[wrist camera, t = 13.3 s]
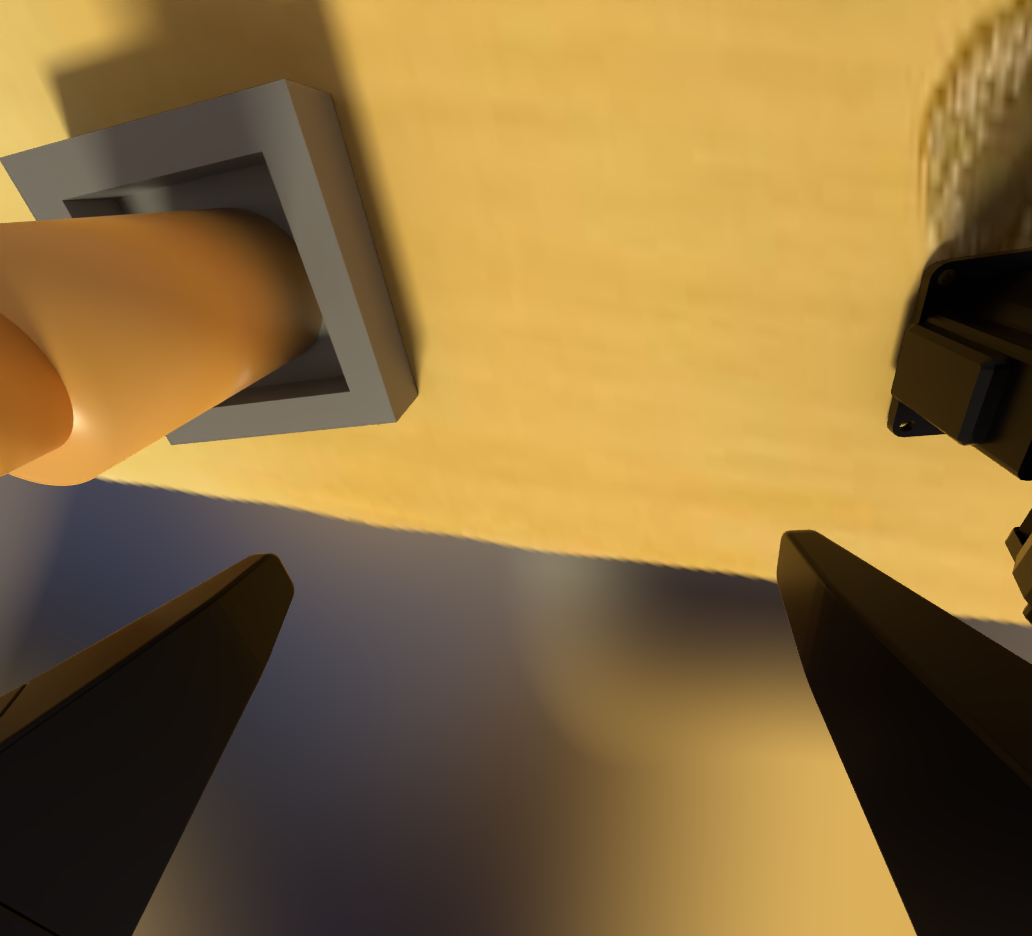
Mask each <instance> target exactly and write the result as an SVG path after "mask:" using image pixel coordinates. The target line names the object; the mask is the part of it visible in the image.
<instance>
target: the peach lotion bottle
mask: <svg viewBox="0 0 1032 936" xmlns="http://www.w3.org/2000/svg"><path fill="white" fill-rule="evenodd" d="M322 319H323V316H322V314H321V311H320V308H319V305H318V303H317V300H316V297H315V294H314V292H313V289H312V286H311V283H310V281H309V278H308V275H307V273H306V270H305V267H304V264H303V262H302V259H301V256H300V253H299V251H298V248H297V245H296V242H295V241H294V240H293V239H292V238H291V237H290V236H289V235H288V234H287V233H286V232H285V231H284V230H282V229H281V228H280V227H279V226H278V225H276V224H275V223H273V222H272V221H270V220H269V219H267V218H265V217H263V216H261V215H259V214H257V213H254V212H251V211H249V210H245V209H240V208H230V207H224V208H210V209H196V210H182V211H168V212H154V213H140V214H126V215H112V216H98V217H84V218H70V219H56V220H42V221H28V222H14V223H0V477H1V476H3V475H5V474H7V473H8V474H10V475H13V476H15V477H18V478H22V479H25V480H28V481H32V482H36V483H41V484H47V485H56V486H61V485H62V486H64V485H75V484H81V483H84V482H86V481H89V480H91V479H93V478H95V477H96V476H98V475H100V474H101V473H103V472H105V471H106V470H108V469H110V468H112V467H113V466H115V465H117V464H118V463H120V462H122V461H123V460H125V459H127V458H128V457H130V456H132V455H133V454H135V453H137V452H138V451H140V450H142V449H144V448H145V447H147V446H149V445H150V444H152V443H154V442H155V441H157V440H159V439H160V438H162V437H164V436H165V435H167V434H169V433H170V432H172V431H174V430H176V429H177V428H179V427H181V426H182V425H184V424H186V423H187V422H189V421H191V420H192V419H194V418H196V417H197V416H199V415H201V414H202V413H204V412H206V411H207V410H209V409H211V408H213V407H214V406H216V405H218V404H219V403H221V402H223V401H224V400H226V399H228V398H229V397H231V396H233V395H234V394H236V393H238V392H239V391H241V390H243V389H245V388H246V387H248V386H250V385H251V384H253V383H255V382H256V381H258V380H260V379H261V378H263V377H265V376H266V375H268V374H270V373H271V372H273V371H275V370H277V369H278V368H280V367H282V366H283V365H285V364H287V363H288V362H290V361H292V360H293V359H295V358H297V357H298V356H300V355H302V354H303V353H305V352H306V351H307V350H308V349H309V348H310V347H311V346H312V344H313V343H314V342H315V340H316V338H317V336H318V334H319V331H320V329H321V324H322Z"/></svg>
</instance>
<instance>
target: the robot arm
mask: <svg viewBox="0 0 1032 936" xmlns="http://www.w3.org/2000/svg"><path fill="white" fill-rule="evenodd" d="M946 270H948V276H947V278H946V279H945V280H944V281H943V282H941V283H938V278H939V276H940V274H942V273H943V272H944V271H946ZM891 394H892V395H893V396H894V397H893V401H892V405H891V409H890V413H889V418H888V422H887V427H888V429H889V430H890V431H891V432H892V433H894V434H895V435H897V436H899V437H912V436H925V435H939V434H947V435H948V436H949V437H951V438H952V439H954V440H955V441H956V442H958V443H959V444H961V445H964V446H965V445H972V446H973V447H975V448H976V449H977V450H979V451H980V452H982V453H983V454H985V455H986V456H988V457H989V458H990V459H992V460H993V461H995V462H996V463H998V464H999V465H1000V466H1002V467H1003V468H1005V469H1006V470H1008V471H1009V472H1010V473H1012V474H1013V475H1015V476H1016V477H1018V478H1019V479H1020V480H1025V481H1031V480H1032V247H1031V248H1024V249H1017V250H1010V251H1003V252H996V253H989V254H982V255H975V256H967V257H960V258H953V259H946V260H942V261H938V262H936V263H934V264H933V265H931V266H930V267H929V268H928V269H927V271H926V272H925V274H924V276H923V278H922V283H921V287H920V291H919V295H918V299H917V303H916V307H915V311H914V315H913V319H912V323H911V326H910V327H909V328H908V329H907V330H906V332H905V335H904V339H903V343H902V348H901V352H900V356H899V360H898V364H897V368H896V373H895V377H894V381H893V385H892V389H891ZM906 420H909V422H908V423H907V424H906V425H905V426H903V427H900V425H901V423H903V422H904V421H906ZM1005 544H1006V546H1007V548H1008V550H1009V552H1010V554H1011V556H1012V558H1013V560H1014V562H1015V565H1014V569H1013V573H1012V574H1013V576H1014V578H1015V580H1016V582H1017V584H1018V586H1019V589H1020V591H1021V593H1022V595H1023V597H1024V599H1025V600H1026V601H1027V602H1028V604H1027V606H1026V607H1025V608H1024V610H1023V614H1024V616H1025V618H1026V619H1027V620H1028V621H1029V623H1030V624H1031V625H1032V509H1031V510H1030V512H1029V513H1028V515H1027V517H1026V518H1025V520H1024V521H1023V523H1022V524H1021V526H1020V527H1015V528H1013V530H1012V531H1011V533H1010V535H1009V536H1008V538H1007V539H1006V541H1005ZM777 582H778V586H779V589H780V593H781V596H782V600H783V603H784V606H785V610H786V613H787V616H788V620H789V623H790V626H791V630H792V633H793V636H794V640H795V643H796V646H797V650H798V653H799V656H800V660H801V663H802V666H803V669H804V672H805V675H806V678H807V681H808V683H809V686H810V688H811V691H812V693H813V695H814V698H815V700H816V703H817V705H818V707H819V710H820V712H821V714H822V716H823V719H824V721H825V723H826V726H827V728H828V730H829V733H830V735H831V737H832V740H833V742H834V744H835V746H836V749H837V751H838V754H839V756H840V758H841V760H842V763H843V765H844V767H845V770H846V772H847V774H848V777H849V779H850V781H851V784H852V786H853V788H854V791H855V793H856V795H857V798H858V800H859V802H860V805H861V807H862V809H863V811H864V814H865V816H866V818H867V821H868V823H869V825H870V828H871V830H872V832H873V835H874V837H875V839H876V842H877V844H878V846H879V849H880V851H881V853H882V855H883V858H884V860H885V862H886V865H887V867H888V869H889V872H890V874H891V876H892V879H893V881H894V883H895V886H896V888H897V890H898V892H899V895H900V897H901V899H902V902H903V904H904V906H905V909H906V911H907V913H908V915H909V918H910V920H911V923H912V925H913V927H914V930H915V932H916V934H917V936H1032V664H1030V663H1028V662H1027V661H1025V660H1023V659H1022V658H1020V657H1019V656H1017V655H1015V654H1014V653H1012V652H1010V651H1009V650H1007V649H1006V648H1004V647H1003V646H1001V645H999V644H998V643H996V642H994V641H993V640H991V639H990V638H988V637H986V636H985V635H983V634H982V633H980V632H978V631H976V630H975V629H973V628H972V627H970V626H969V625H967V624H965V623H964V622H962V621H961V620H959V619H957V618H956V617H954V616H952V615H951V614H949V613H948V612H946V611H944V610H943V609H941V608H940V607H938V606H936V605H935V604H933V603H931V602H930V601H928V600H927V599H925V598H923V597H922V596H920V595H918V594H917V593H915V592H914V591H912V590H910V589H909V588H907V587H906V586H904V585H902V584H901V583H899V582H897V581H896V580H894V579H893V578H891V577H889V576H888V575H886V574H885V573H883V572H881V571H880V570H878V569H876V568H875V567H873V566H872V565H870V564H868V563H867V562H865V561H864V560H862V559H860V558H859V557H857V556H855V555H854V554H852V553H851V552H849V551H847V550H846V549H844V548H843V547H841V546H839V545H838V544H836V543H834V542H833V541H831V540H830V539H828V538H826V537H825V536H823V535H822V534H820V533H818V532H816V531H814V530H791V531H786V532H785V533H783V535H782V537H781V543H780V550H779V557H778V565H777ZM293 595H294V585H293V582H292V580H291V578H290V577H289V575H288V573H287V571H286V569H285V567H284V566H283V564H282V562H281V560H280V558H279V557H278V556H277V555H275V554H273V553H262V554H261V553H260V554H254V555H251V556H249V557H247V558H245V559H243V560H242V561H240V562H238V563H236V564H235V565H233V566H231V567H229V568H228V569H226V570H224V571H222V572H220V573H219V574H217V575H215V576H213V577H212V578H210V579H208V580H206V581H205V582H203V583H201V584H200V585H198V586H196V587H194V588H193V589H191V590H189V591H187V592H186V593H184V594H182V595H180V596H178V597H176V598H175V599H173V600H171V601H169V602H168V603H166V604H164V605H162V606H161V607H159V608H157V609H155V610H153V611H152V612H150V613H148V614H146V615H145V616H143V617H141V618H140V619H138V620H136V621H134V622H132V623H131V624H129V625H127V626H125V627H124V628H122V629H120V630H118V631H116V632H115V633H113V634H111V635H109V636H108V637H106V638H104V639H102V640H101V641H99V642H97V643H95V644H94V645H92V646H90V647H88V648H87V649H85V650H83V651H81V652H79V653H78V654H76V655H74V656H72V657H71V658H69V659H67V660H65V661H64V662H62V663H60V664H58V665H57V666H55V667H53V668H51V669H50V670H48V671H46V672H44V673H43V674H41V675H39V676H37V677H36V678H34V679H32V680H31V681H30V682H29V683H28V684H23V685H21V686H19V687H18V688H16V689H14V690H12V691H11V692H9V693H7V694H5V695H4V696H2V697H0V936H132V935H133V933H134V931H135V929H136V926H137V925H138V922H139V920H140V919H141V917H142V915H143V913H144V911H145V909H146V906H147V905H148V903H149V901H150V899H151V897H152V894H153V893H154V890H155V888H156V886H157V885H158V882H159V881H160V879H161V876H162V874H163V872H164V870H165V868H166V866H167V864H168V862H169V860H170V858H171V856H172V854H173V852H174V850H175V848H176V846H177V844H178V842H179V840H180V838H181V836H182V834H183V832H184V830H185V828H186V826H187V824H188V822H189V820H190V818H191V816H192V814H193V812H194V810H195V808H196V806H197V804H198V802H199V800H200V798H201V796H202V794H203V792H204V790H205V788H206V786H207V784H208V782H209V780H210V778H211V776H212V774H213V772H214V770H215V768H216V766H217V764H218V762H219V760H220V758H221V756H222V754H223V752H224V750H225V748H226V746H227V744H228V742H229V740H230V738H231V736H232V734H233V732H234V730H235V728H236V726H237V724H238V722H239V720H240V718H241V716H242V714H243V712H244V710H245V708H246V706H247V704H248V702H249V700H250V698H251V696H252V694H253V692H254V690H255V688H256V686H257V684H258V682H259V680H260V678H261V676H262V673H263V671H264V669H265V666H266V664H267V662H268V660H269V657H270V655H271V652H272V649H273V647H274V644H275V642H276V639H277V637H278V634H279V632H280V629H281V627H282V624H283V621H284V619H285V616H286V614H287V611H288V609H289V606H290V604H291V601H292V598H293Z"/></svg>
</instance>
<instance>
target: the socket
mask: <svg viewBox="0 0 1032 936" xmlns="http://www.w3.org/2000/svg"><path fill="white" fill-rule="evenodd" d="M0 161H1V163H2V165H3V166H4V168H5V170H6V171H7V173H8V175H9V176H10V178H11V179H12V181H13V183H14V184H15V186H16V188H17V189H18V191H19V193H20V194H21V196H22V198H23V199H24V201H25V203H26V204H27V206H28V208H29V209H30V211H31V213H32V214H33V216H34V218H35V219H36V221H42V220H56V219H70V218H84V217H98V216H112V215H126V214H140V213H154V212H168V211H182V210H196V209H210V208H224V207H230V208H240V209H245V210H249V211H251V212H254V213H257V214H259V215H261V216H263V217H265V218H267V219H269V220H270V221H272V222H273V223H275V224H276V225H278V226H279V227H280V228H281V229H282V230H284V231H285V232H286V233H287V234H288V235H289V236H290V237H291V238H292V239H293V240H294V241H295V242H296V245H297V248H298V251H299V253H300V256H301V259H302V262H303V264H304V267H305V270H306V273H307V275H308V278H309V281H310V283H311V286H312V289H313V292H314V294H315V297H316V300H317V303H318V305H319V308H320V311H321V314H322V316H323V319H322V324H321V329H320V331H319V334H318V336H317V338H316V340H315V342H314V343H313V344H312V346H311V347H310V348H309V349H308V350H307V351H306V352H305V353H303V354H302V355H300V356H298V357H297V358H295V359H293V360H292V361H290V362H288V363H287V364H285V365H283V366H282V367H280V368H278V369H277V370H275V371H273V372H271V373H270V374H268V375H266V376H265V377H263V378H261V379H260V380H258V381H256V382H255V383H253V384H251V385H250V386H248V387H246V388H245V389H243V390H241V391H239V392H238V393H236V394H234V395H233V396H231V397H229V398H228V399H226V400H224V401H223V402H221V403H219V404H218V405H216V406H214V407H213V408H211V409H209V410H207V411H206V412H204V413H202V414H201V415H199V416H197V417H196V418H194V419H192V420H191V421H189V422H187V423H186V424H184V425H182V426H181V427H179V428H177V429H176V430H174V431H172V432H170V433H169V434H167V435H166V437H167V439H168V440H169V442H170V444H171V445H177V444H187V443H197V442H207V441H217V440H227V439H237V438H246V437H256V436H266V435H276V434H286V433H296V432H306V431H316V430H326V429H335V428H345V427H355V426H365V425H375V424H385V423H395V422H397V421H398V420H399V418H400V417H401V416H402V415H403V414H404V412H405V411H406V410H407V409H408V407H409V406H410V405H411V404H412V403H413V401H414V400H415V399H416V398H417V396H418V393H417V390H416V386H415V383H414V380H413V376H412V373H411V369H410V366H409V362H408V359H407V355H406V352H405V349H404V345H403V342H402V338H401V335H400V331H399V328H398V325H397V321H396V318H395V314H394V311H393V307H392V304H391V300H390V297H389V294H388V290H387V287H386V283H385V280H384V276H383V273H382V269H381V266H380V263H379V259H378V256H377V252H376V249H375V245H374V242H373V239H372V235H371V232H370V228H369V225H368V221H367V218H366V214H365V211H364V208H363V204H362V201H361V197H360V194H359V190H358V187H357V183H356V180H355V177H354V173H353V170H352V166H351V163H350V159H349V156H348V153H347V149H346V146H345V142H344V139H343V135H342V132H341V128H340V125H339V122H338V118H337V115H336V111H335V108H334V104H333V101H332V97H331V94H329V93H326V92H323V91H320V90H317V89H314V88H311V87H308V86H305V85H302V84H299V83H296V82H293V81H290V80H287V79H281V80H278V81H274V82H271V83H267V84H264V85H260V86H256V87H253V88H249V89H246V90H242V91H238V92H235V93H231V94H228V95H224V96H220V97H217V98H213V99H210V100H206V101H202V102H199V103H195V104H192V105H188V106H184V107H181V108H177V109H174V110H170V111H166V112H163V113H159V114H156V115H152V116H148V117H145V118H141V119H138V120H134V121H130V122H127V123H123V124H120V125H116V126H112V127H109V128H105V129H102V130H98V131H95V132H91V133H87V134H84V135H80V136H77V137H73V138H69V139H66V140H62V141H59V142H55V143H51V144H48V145H44V146H41V147H37V148H33V149H30V150H26V151H23V152H19V153H15V154H12V155H8V156H5V157H1V158H0Z"/></svg>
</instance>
